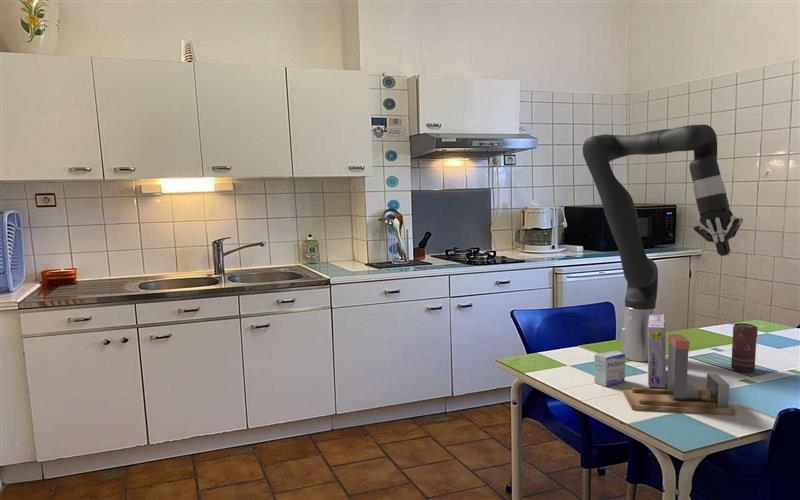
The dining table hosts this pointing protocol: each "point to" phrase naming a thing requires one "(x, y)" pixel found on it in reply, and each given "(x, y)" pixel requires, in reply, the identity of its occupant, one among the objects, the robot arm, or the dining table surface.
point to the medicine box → (609, 368)
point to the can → (744, 347)
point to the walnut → (704, 394)
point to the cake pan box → (656, 351)
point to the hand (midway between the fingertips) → (724, 255)
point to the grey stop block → (718, 390)
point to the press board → (670, 403)
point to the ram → (679, 370)
